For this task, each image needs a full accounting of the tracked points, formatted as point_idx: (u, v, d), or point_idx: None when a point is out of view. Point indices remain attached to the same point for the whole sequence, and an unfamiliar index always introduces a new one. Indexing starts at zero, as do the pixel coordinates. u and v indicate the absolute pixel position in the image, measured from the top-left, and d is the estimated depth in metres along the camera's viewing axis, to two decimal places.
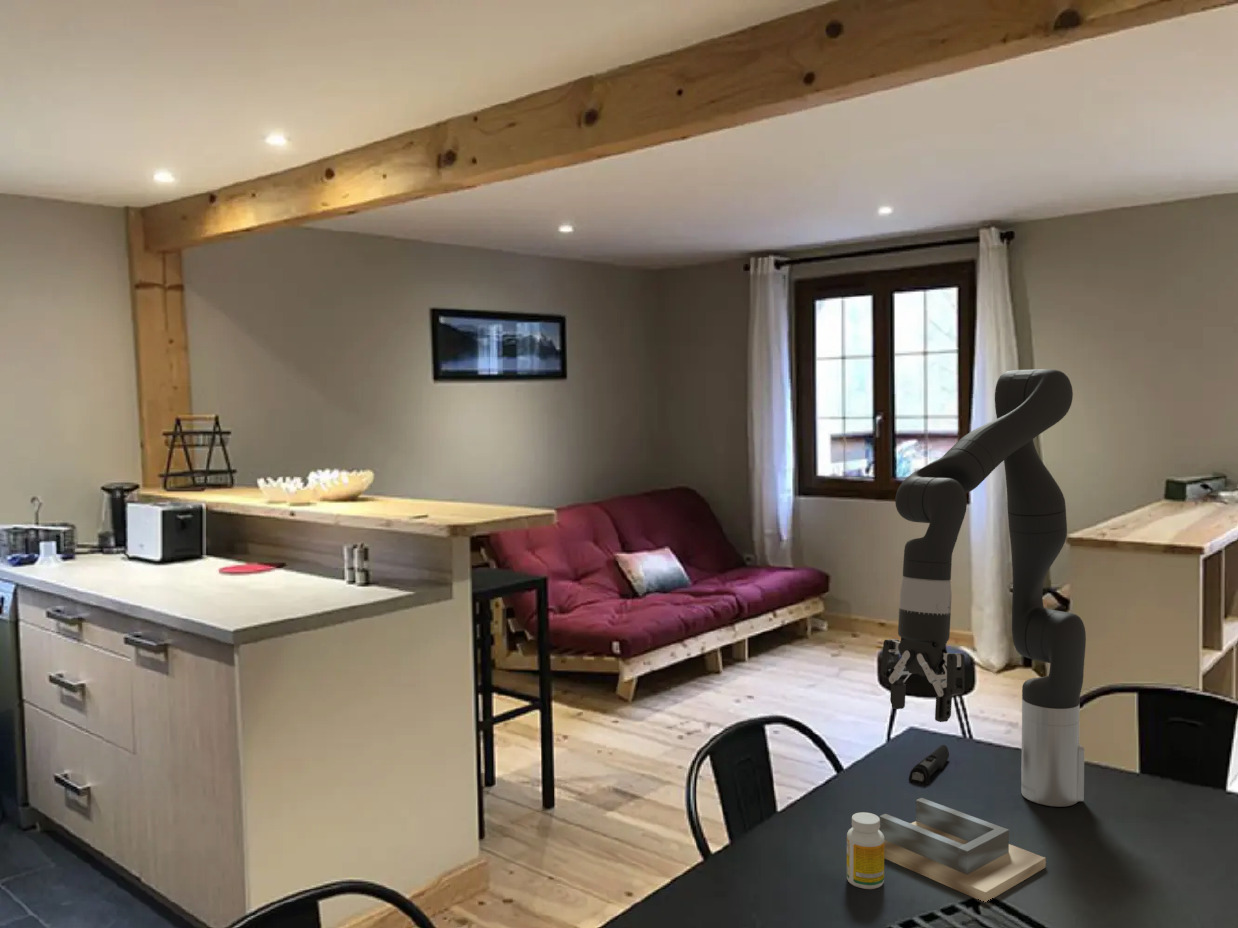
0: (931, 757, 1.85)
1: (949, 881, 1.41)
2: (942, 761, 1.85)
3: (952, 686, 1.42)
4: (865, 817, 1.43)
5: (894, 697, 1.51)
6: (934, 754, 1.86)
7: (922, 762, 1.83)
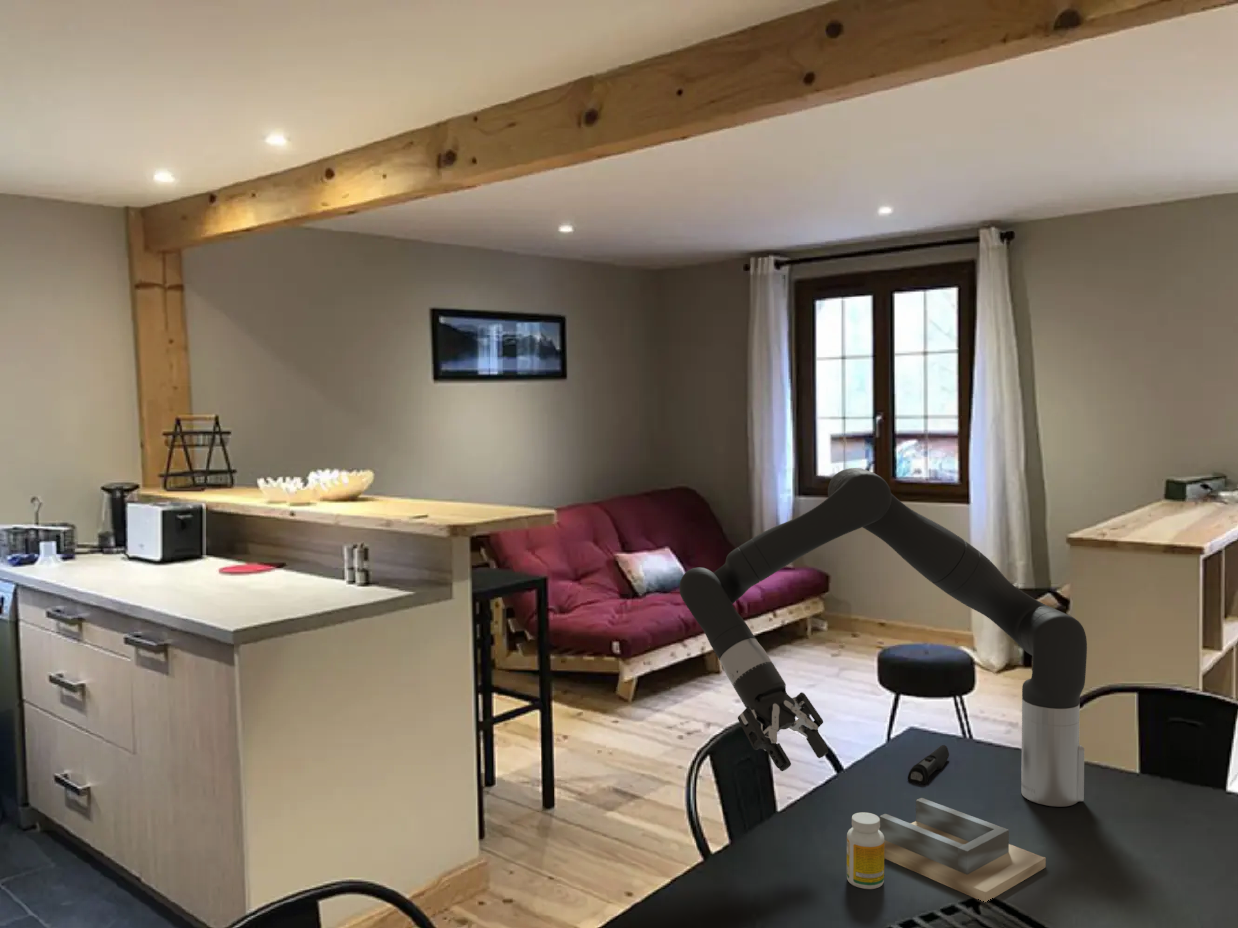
0: (930, 757, 1.85)
1: (949, 881, 1.41)
2: (941, 761, 1.85)
3: (751, 743, 1.51)
4: (865, 817, 1.43)
5: (813, 748, 1.55)
6: (934, 754, 1.86)
7: (921, 762, 1.83)
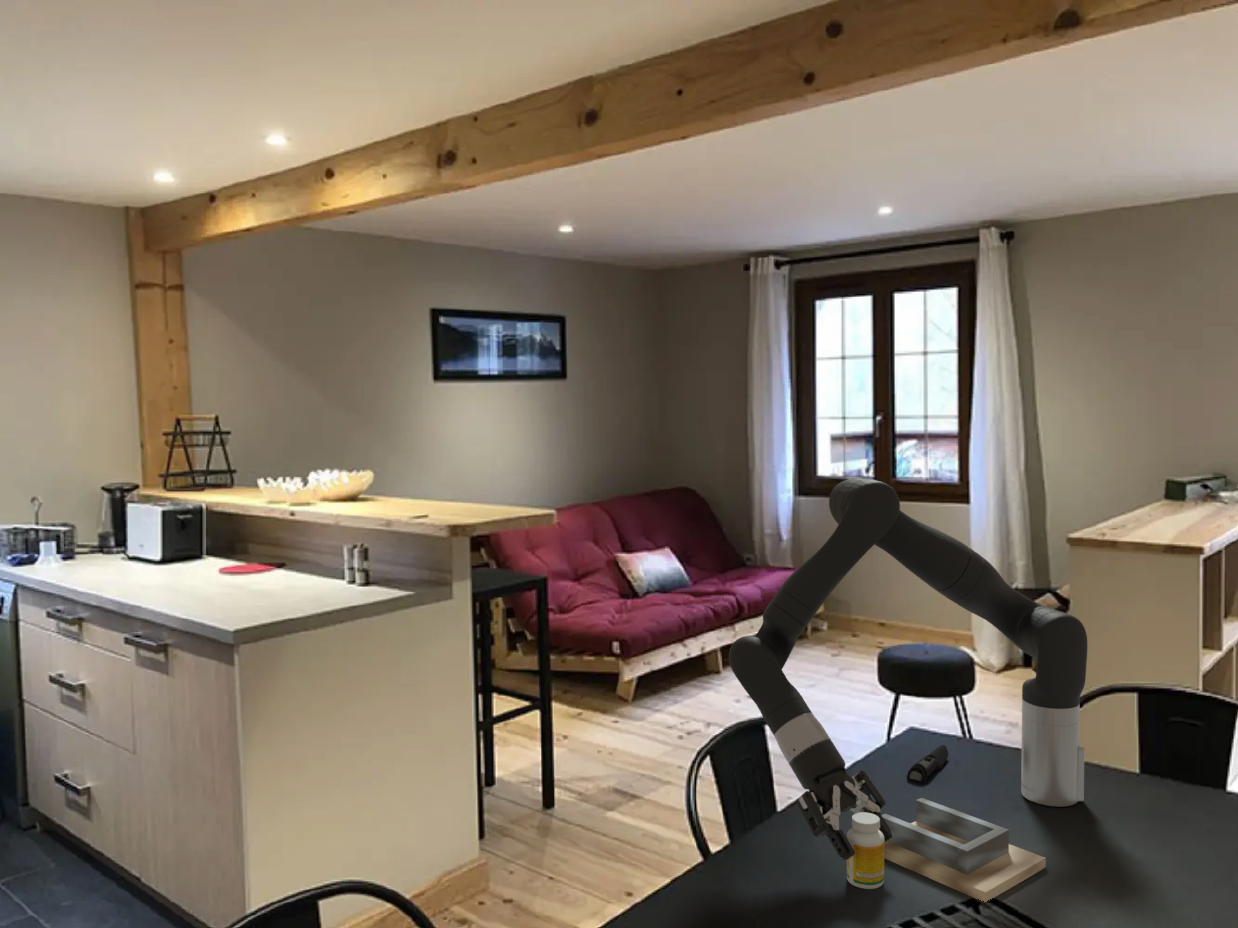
0: (930, 757, 1.85)
1: (949, 881, 1.41)
2: (940, 761, 1.86)
3: (811, 829, 1.42)
4: (865, 817, 1.43)
5: None
6: (933, 754, 1.86)
7: (920, 761, 1.83)
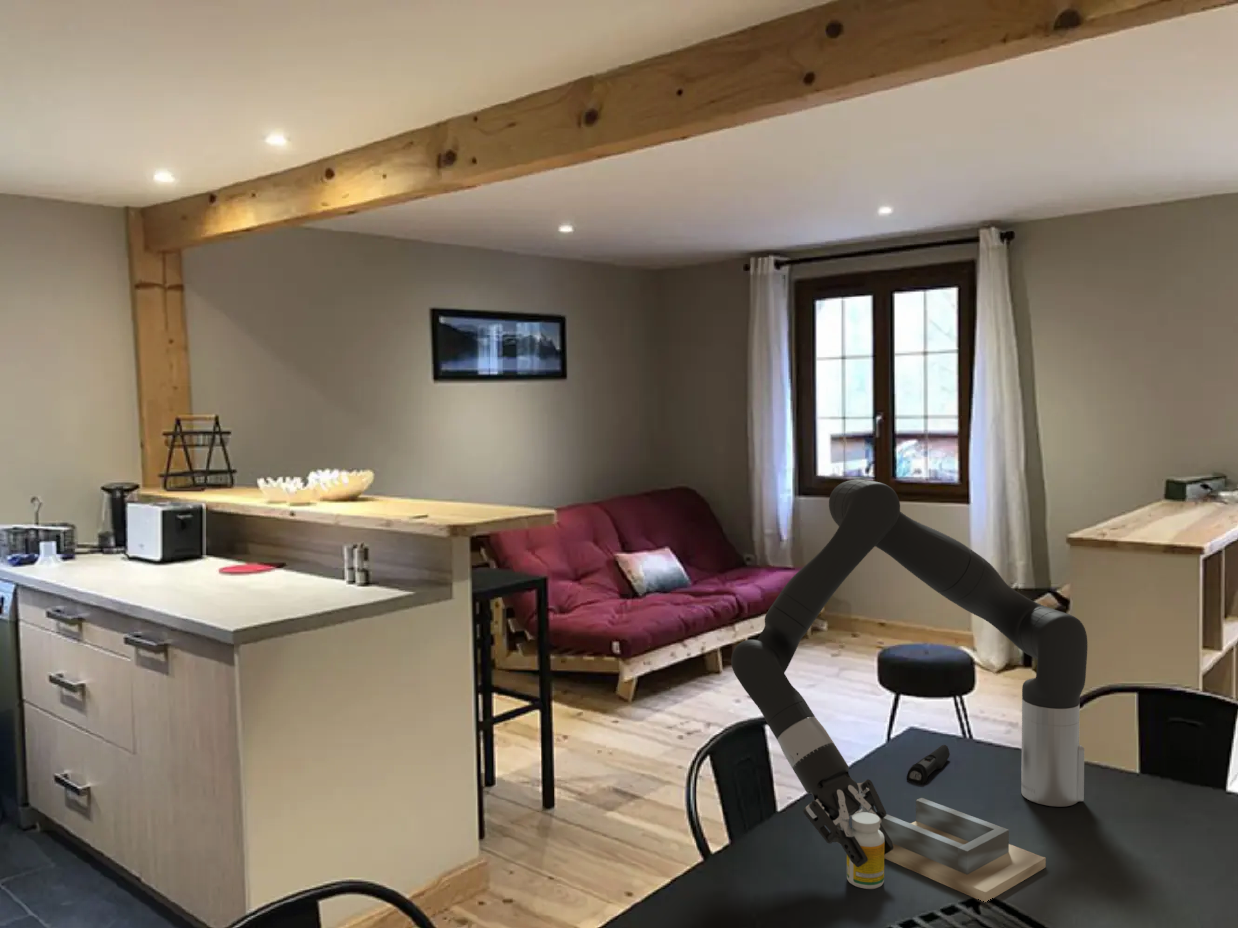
0: (930, 757, 1.85)
1: (949, 881, 1.41)
2: (941, 761, 1.86)
3: None
4: (865, 817, 1.43)
5: None
6: (934, 754, 1.86)
7: (921, 761, 1.83)
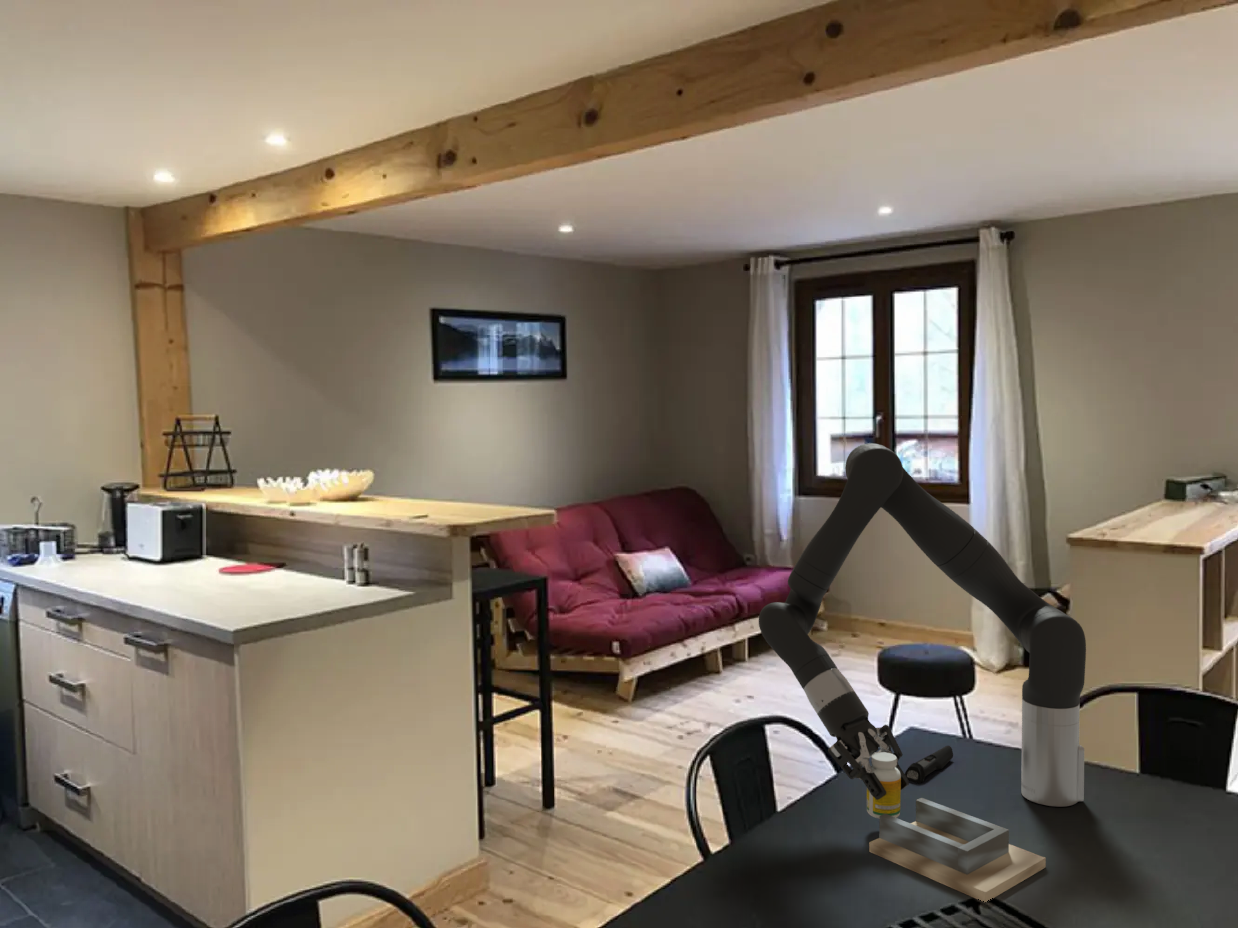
0: (931, 757, 1.85)
1: (949, 881, 1.41)
2: (942, 761, 1.85)
3: None
4: (883, 756, 1.59)
5: None
6: (935, 754, 1.86)
7: (920, 761, 1.84)
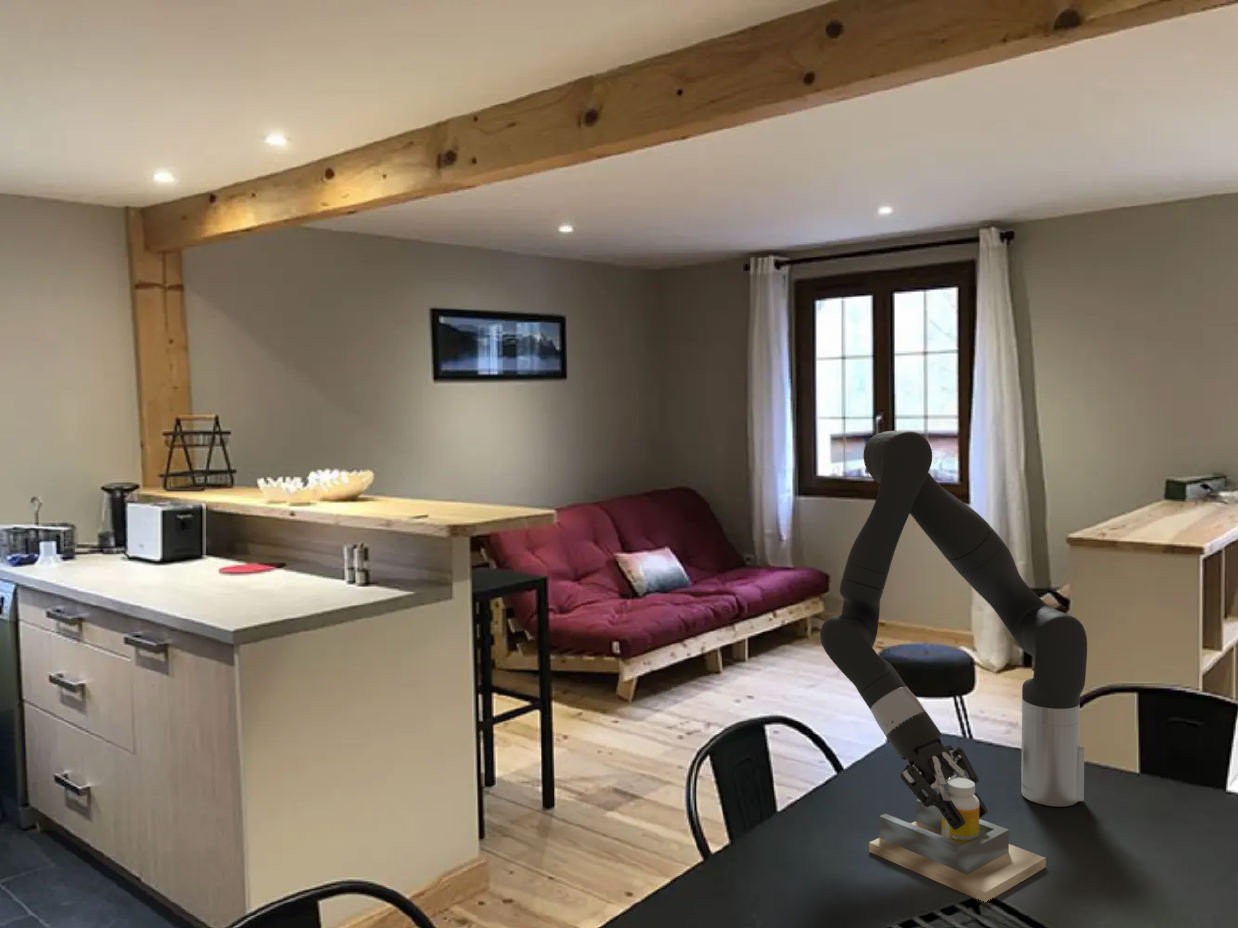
0: None
1: (949, 881, 1.41)
2: None
3: None
4: (960, 782, 1.48)
5: None
6: None
7: None
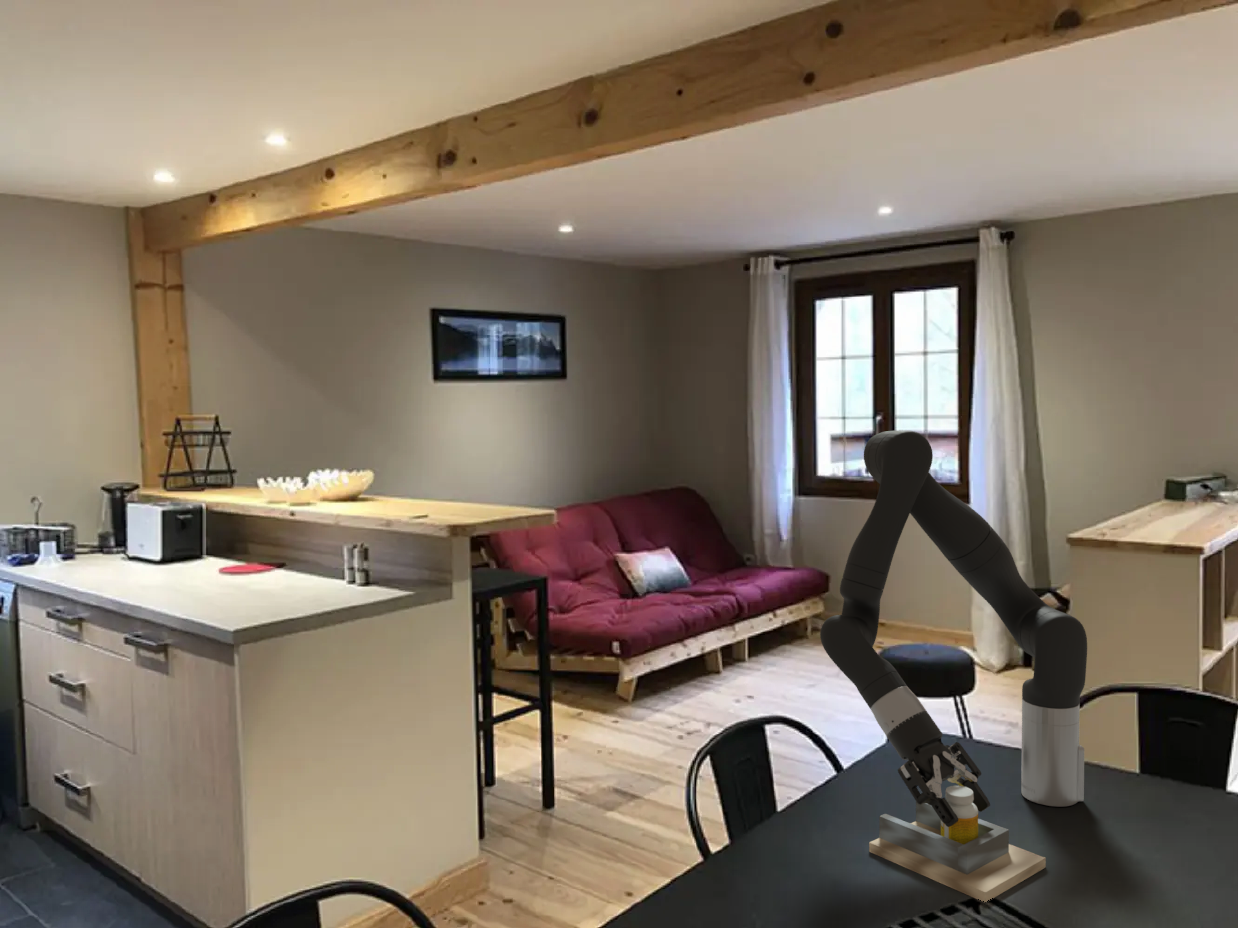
0: None
1: (949, 881, 1.41)
2: None
3: None
4: (959, 790, 1.48)
5: None
6: None
7: None
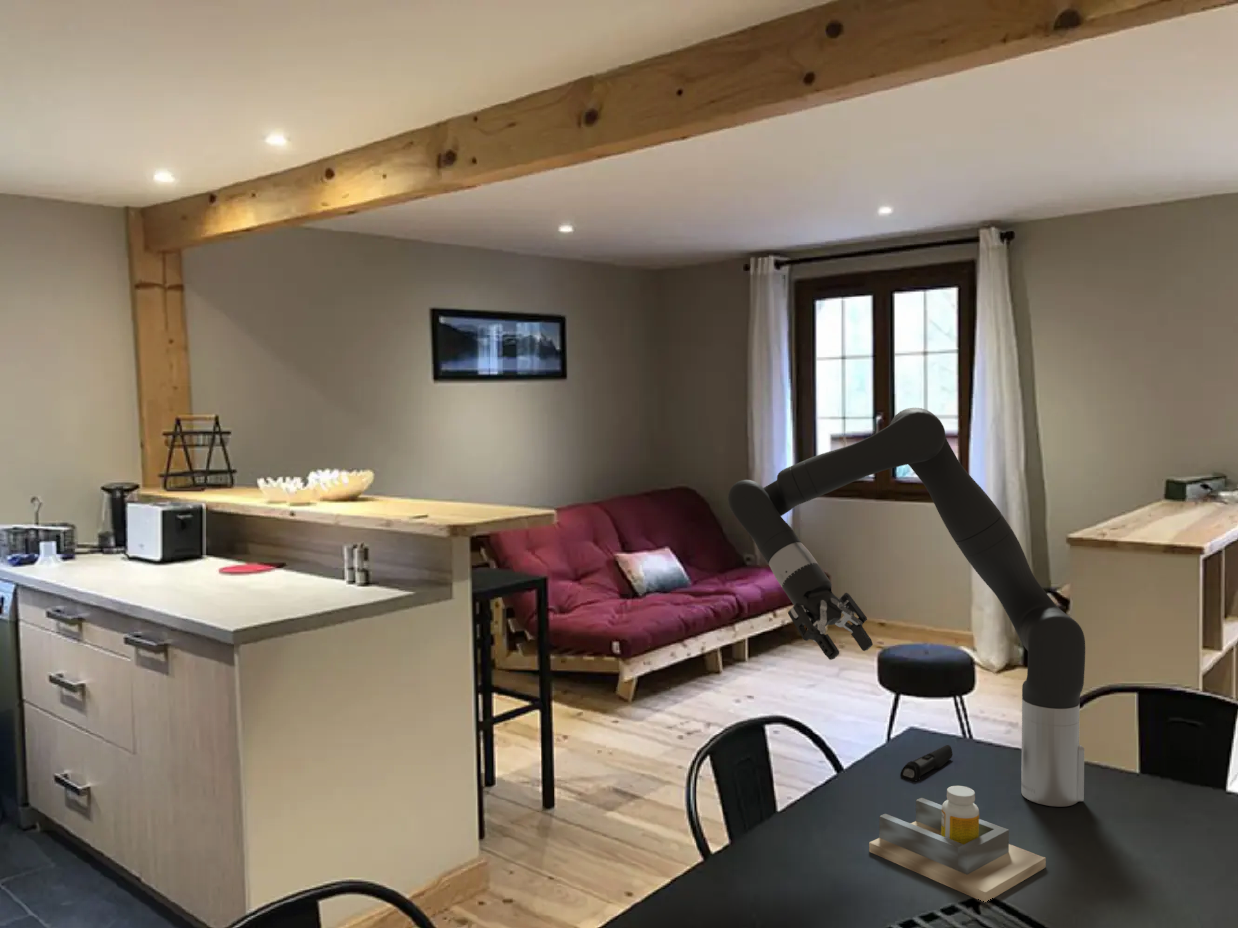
0: (929, 755, 1.86)
1: (949, 881, 1.41)
2: (940, 760, 1.86)
3: (801, 634, 1.61)
4: (960, 790, 1.48)
5: (858, 643, 1.66)
6: (933, 753, 1.87)
7: (918, 760, 1.84)
